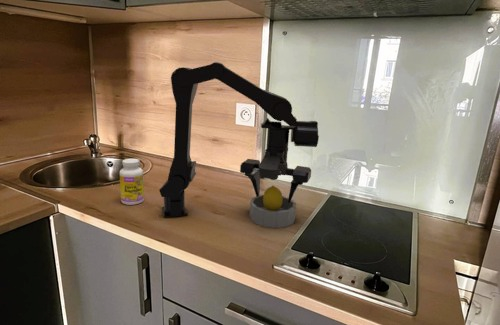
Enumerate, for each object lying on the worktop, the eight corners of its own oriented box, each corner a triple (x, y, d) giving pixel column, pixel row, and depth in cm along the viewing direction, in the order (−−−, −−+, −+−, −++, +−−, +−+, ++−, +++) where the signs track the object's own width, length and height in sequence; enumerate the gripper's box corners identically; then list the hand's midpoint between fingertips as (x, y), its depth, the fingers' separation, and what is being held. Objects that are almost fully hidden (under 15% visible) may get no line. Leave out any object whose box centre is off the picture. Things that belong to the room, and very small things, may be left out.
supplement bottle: (121, 206, 93) (118, 164, 90) (120, 198, 99) (117, 158, 96) (145, 204, 96) (143, 162, 93) (143, 196, 102) (141, 156, 98)
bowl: (244, 210, 95) (244, 196, 94) (282, 206, 99) (283, 192, 98) (259, 230, 83) (260, 214, 82) (302, 224, 88) (304, 209, 87)
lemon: (270, 208, 95) (270, 182, 94) (285, 212, 92) (286, 185, 90) (258, 213, 91) (259, 186, 89) (274, 217, 88) (275, 189, 86)
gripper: (233, 146, 81) (231, 203, 85) (306, 156, 75) (300, 217, 80) (248, 139, 91) (246, 190, 96) (314, 147, 85) (308, 201, 90)
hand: (273, 199), depth 90 cm, fingers open, 9 cm apart
